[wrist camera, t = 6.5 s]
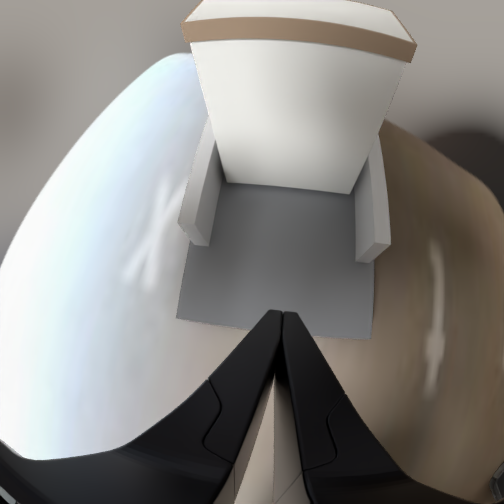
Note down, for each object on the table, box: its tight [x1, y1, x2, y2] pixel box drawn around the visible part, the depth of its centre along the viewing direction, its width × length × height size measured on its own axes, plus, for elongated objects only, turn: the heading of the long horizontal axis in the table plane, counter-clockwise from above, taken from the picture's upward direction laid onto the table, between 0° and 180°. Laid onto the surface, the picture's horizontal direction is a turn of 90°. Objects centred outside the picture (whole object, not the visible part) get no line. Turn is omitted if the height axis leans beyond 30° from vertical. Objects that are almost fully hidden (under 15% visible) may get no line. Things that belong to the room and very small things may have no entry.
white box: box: [181, 0, 417, 194], centre depth 11 cm, size 3×7×10 cm, turn 83°
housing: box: [176, 114, 391, 339], centre depth 14 cm, size 14×10×4 cm
